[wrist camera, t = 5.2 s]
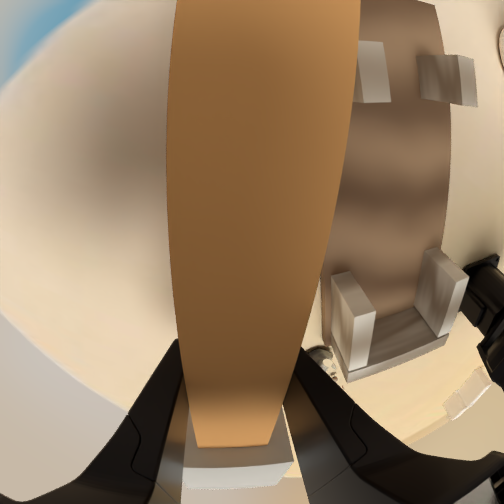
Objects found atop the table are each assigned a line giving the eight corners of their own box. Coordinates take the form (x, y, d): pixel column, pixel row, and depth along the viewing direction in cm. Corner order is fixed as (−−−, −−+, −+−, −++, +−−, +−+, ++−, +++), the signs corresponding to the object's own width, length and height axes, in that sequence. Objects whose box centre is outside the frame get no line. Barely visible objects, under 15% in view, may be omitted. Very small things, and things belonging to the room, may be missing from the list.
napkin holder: (483, 356, 38) (497, 376, 33) (486, 370, 43) (497, 387, 38) (424, 404, 42) (435, 426, 37) (435, 411, 47) (444, 429, 42)
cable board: (280, -10, 11) (307, -47, 6) (426, 7, 11) (478, -2, 6) (322, 339, 25) (341, 386, 21) (420, 307, 25) (447, 344, 21)
